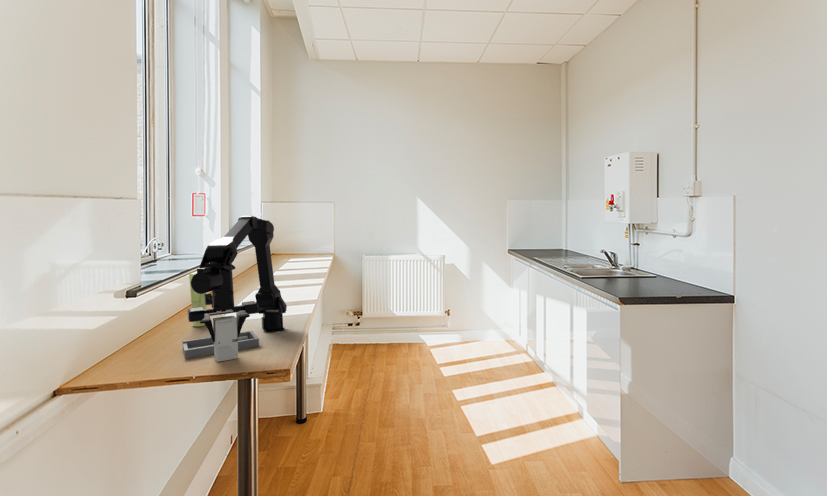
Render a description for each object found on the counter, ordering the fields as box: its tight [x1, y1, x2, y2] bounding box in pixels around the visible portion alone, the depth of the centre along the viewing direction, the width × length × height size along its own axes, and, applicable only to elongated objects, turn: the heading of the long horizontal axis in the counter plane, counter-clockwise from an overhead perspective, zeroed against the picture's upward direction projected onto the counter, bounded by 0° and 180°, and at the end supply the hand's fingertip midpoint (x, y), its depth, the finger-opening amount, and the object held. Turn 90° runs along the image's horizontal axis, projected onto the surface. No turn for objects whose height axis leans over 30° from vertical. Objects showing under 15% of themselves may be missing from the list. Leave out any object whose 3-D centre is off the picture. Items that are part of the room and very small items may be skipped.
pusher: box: [238, 336, 248, 341], centre depth 144 cm, size 8×8×3 cm
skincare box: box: [212, 315, 239, 363], centre depth 131 cm, size 6×4×12 cm
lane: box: [182, 330, 260, 359], centre depth 142 cm, size 21×11×2 cm, turn 120°
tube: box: [188, 273, 207, 328], centre depth 169 cm, size 6×5×20 cm
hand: (225, 339), depth 131 cm, fingers closed on skincare box, 6 cm apart
